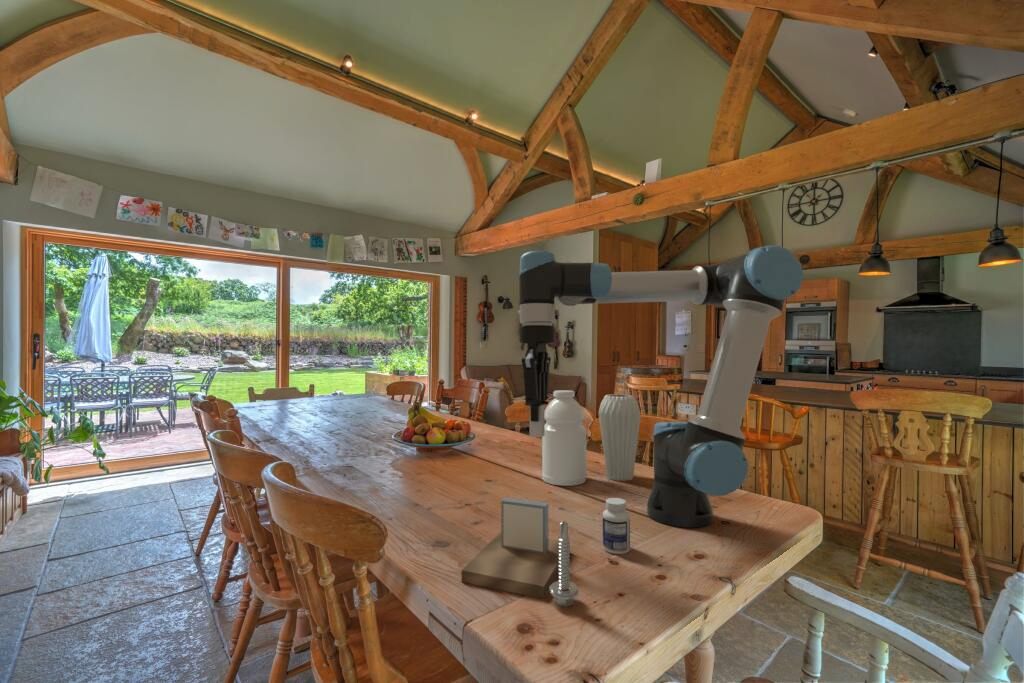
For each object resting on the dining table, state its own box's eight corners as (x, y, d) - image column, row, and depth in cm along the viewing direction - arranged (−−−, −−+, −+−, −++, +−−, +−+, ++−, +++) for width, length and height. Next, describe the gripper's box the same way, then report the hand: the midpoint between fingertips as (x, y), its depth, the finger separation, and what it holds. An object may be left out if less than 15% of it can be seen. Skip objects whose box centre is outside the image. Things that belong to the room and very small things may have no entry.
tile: (548, 550, 86) (548, 503, 86) (545, 554, 84) (545, 506, 84) (505, 542, 89) (505, 497, 89) (501, 547, 87) (501, 501, 87)
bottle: (532, 479, 140) (532, 390, 141) (560, 471, 150) (560, 388, 150) (568, 489, 130) (567, 393, 130) (595, 480, 140) (595, 391, 140)
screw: (585, 604, 71) (563, 614, 68) (564, 591, 75) (542, 600, 72) (585, 521, 71) (562, 528, 68) (564, 513, 75) (542, 519, 72)
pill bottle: (610, 541, 95) (610, 494, 95) (634, 548, 91) (633, 500, 91) (598, 549, 90) (597, 501, 91) (622, 557, 87) (622, 507, 87)
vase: (591, 473, 147) (591, 394, 147) (626, 470, 151) (626, 393, 151) (612, 485, 134) (611, 398, 135) (649, 481, 138) (649, 396, 139)
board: (569, 552, 89) (569, 542, 89) (543, 598, 72) (543, 586, 72) (500, 541, 94) (500, 531, 94) (461, 581, 78) (461, 570, 78)
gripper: (530, 327, 102) (530, 429, 102) (509, 323, 90) (508, 440, 89) (562, 326, 100) (562, 431, 99) (544, 322, 87) (544, 443, 86)
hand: (537, 435), depth 94 cm, fingers closed
